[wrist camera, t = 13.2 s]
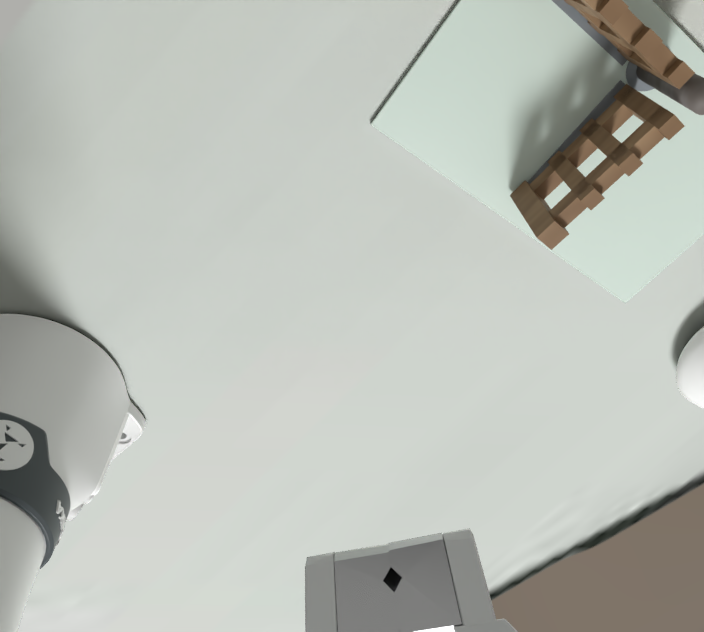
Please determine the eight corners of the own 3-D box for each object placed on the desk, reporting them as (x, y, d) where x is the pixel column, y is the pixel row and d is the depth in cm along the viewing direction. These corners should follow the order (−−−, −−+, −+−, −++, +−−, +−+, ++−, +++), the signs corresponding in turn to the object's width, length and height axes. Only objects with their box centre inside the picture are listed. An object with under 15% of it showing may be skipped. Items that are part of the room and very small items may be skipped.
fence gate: (509, 195, 41) (536, 237, 36) (624, 81, 37) (672, 112, 32) (523, 206, 42) (551, 250, 37) (637, 96, 37) (686, 128, 33)
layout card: (623, 301, 48) (625, 304, 47) (370, 123, 38) (371, 125, 38) (796, 148, 41) (799, 151, 41) (540, -113, 31) (542, -113, 31)
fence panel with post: (644, 85, 38) (703, 121, 32) (510, -41, 33) (551, -24, 28) (665, 62, 37) (729, 95, 31) (530, -68, 33) (577, -58, 27)
